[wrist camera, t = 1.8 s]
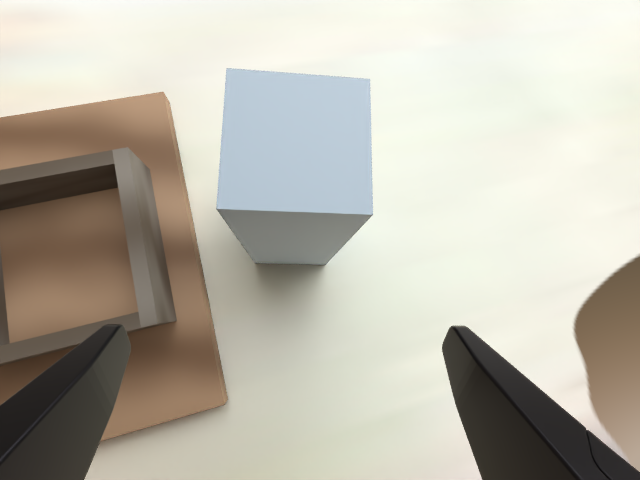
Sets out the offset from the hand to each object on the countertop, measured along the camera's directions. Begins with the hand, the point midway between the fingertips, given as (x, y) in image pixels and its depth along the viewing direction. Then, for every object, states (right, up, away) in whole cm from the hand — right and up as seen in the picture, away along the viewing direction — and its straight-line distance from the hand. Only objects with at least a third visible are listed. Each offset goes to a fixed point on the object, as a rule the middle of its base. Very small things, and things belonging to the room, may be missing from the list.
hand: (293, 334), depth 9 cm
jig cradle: (-14, +1, +11) cm, 18 cm away
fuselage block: (-1, +3, +13) cm, 14 cm away
